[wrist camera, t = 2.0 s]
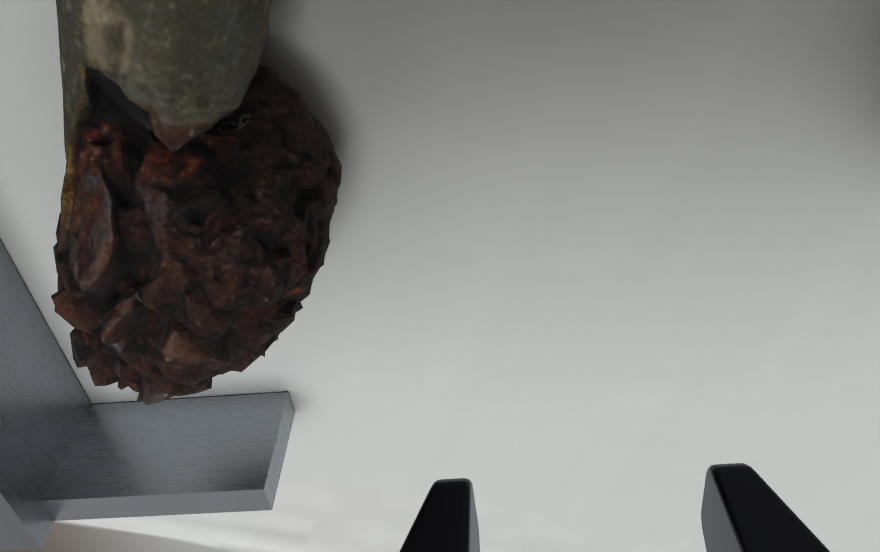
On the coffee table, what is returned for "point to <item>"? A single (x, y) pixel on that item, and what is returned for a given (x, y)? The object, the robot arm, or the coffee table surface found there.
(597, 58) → the coffee table surface
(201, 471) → the grey u-shaped bracket
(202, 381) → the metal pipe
